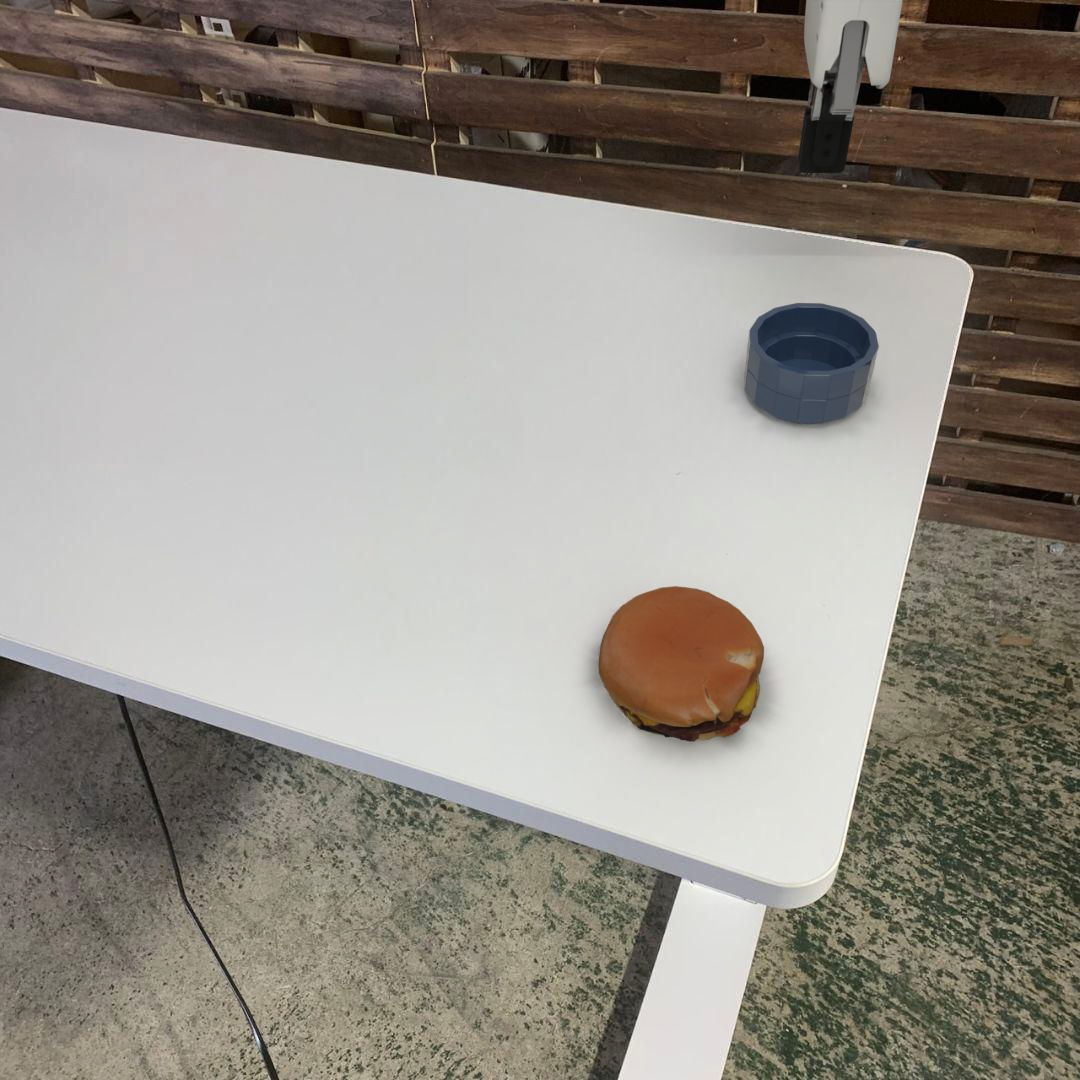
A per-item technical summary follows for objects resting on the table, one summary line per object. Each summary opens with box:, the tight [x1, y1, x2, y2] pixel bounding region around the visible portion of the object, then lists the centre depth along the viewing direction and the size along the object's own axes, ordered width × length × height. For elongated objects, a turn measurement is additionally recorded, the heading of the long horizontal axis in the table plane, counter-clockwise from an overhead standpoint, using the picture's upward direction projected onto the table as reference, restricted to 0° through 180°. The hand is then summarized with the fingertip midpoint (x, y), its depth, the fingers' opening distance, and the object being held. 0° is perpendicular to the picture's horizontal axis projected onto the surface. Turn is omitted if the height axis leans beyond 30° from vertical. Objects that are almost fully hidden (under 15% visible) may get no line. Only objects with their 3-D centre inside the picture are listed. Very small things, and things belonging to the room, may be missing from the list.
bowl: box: [743, 302, 880, 425], centre depth 74 cm, size 9×9×5 cm
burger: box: [597, 585, 765, 743], centre depth 56 cm, size 10×9×5 cm
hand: (820, 167), depth 71 cm, fingers closed
